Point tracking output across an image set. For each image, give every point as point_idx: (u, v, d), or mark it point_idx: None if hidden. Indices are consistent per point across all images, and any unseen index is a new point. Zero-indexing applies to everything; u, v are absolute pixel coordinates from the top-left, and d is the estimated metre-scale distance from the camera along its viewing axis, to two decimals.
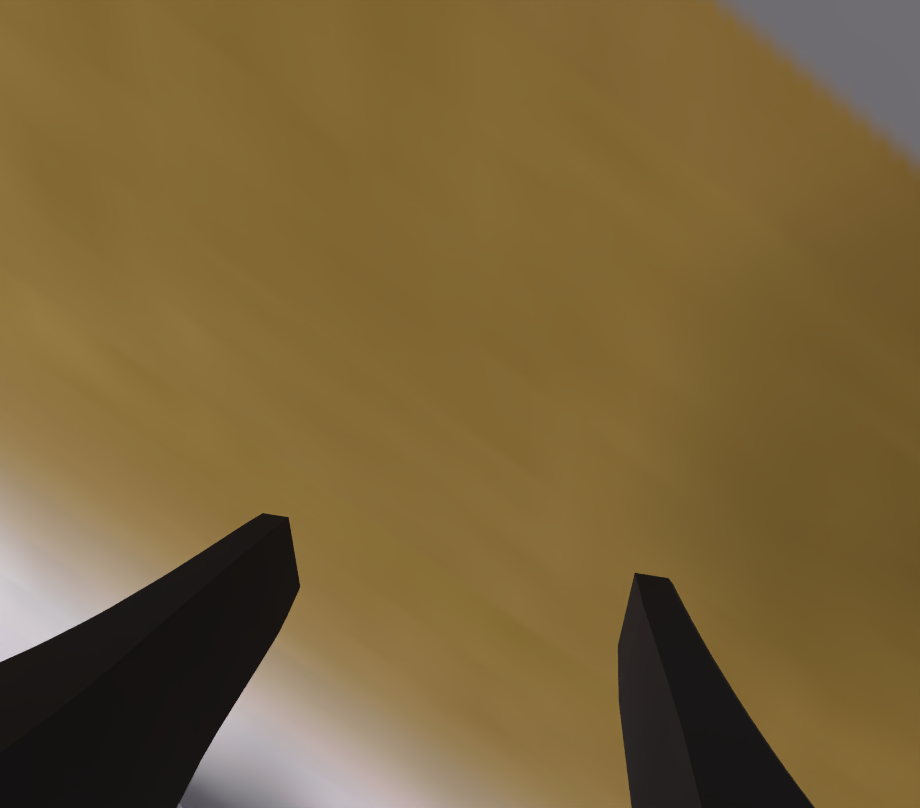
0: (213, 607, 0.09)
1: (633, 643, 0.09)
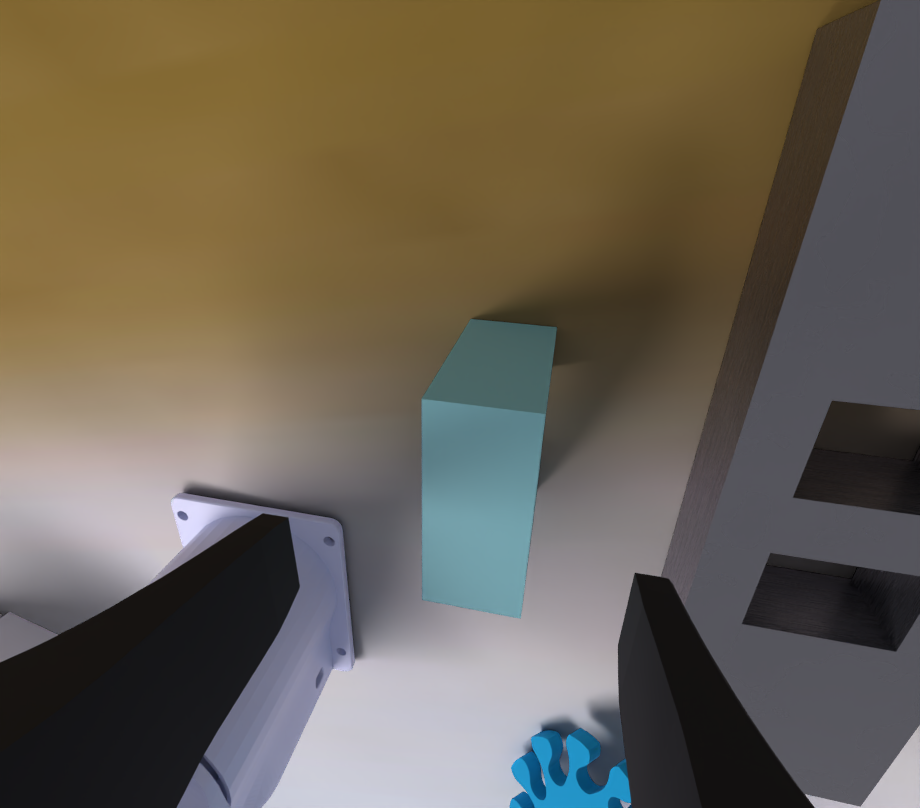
0: (213, 607, 0.09)
1: (633, 643, 0.09)
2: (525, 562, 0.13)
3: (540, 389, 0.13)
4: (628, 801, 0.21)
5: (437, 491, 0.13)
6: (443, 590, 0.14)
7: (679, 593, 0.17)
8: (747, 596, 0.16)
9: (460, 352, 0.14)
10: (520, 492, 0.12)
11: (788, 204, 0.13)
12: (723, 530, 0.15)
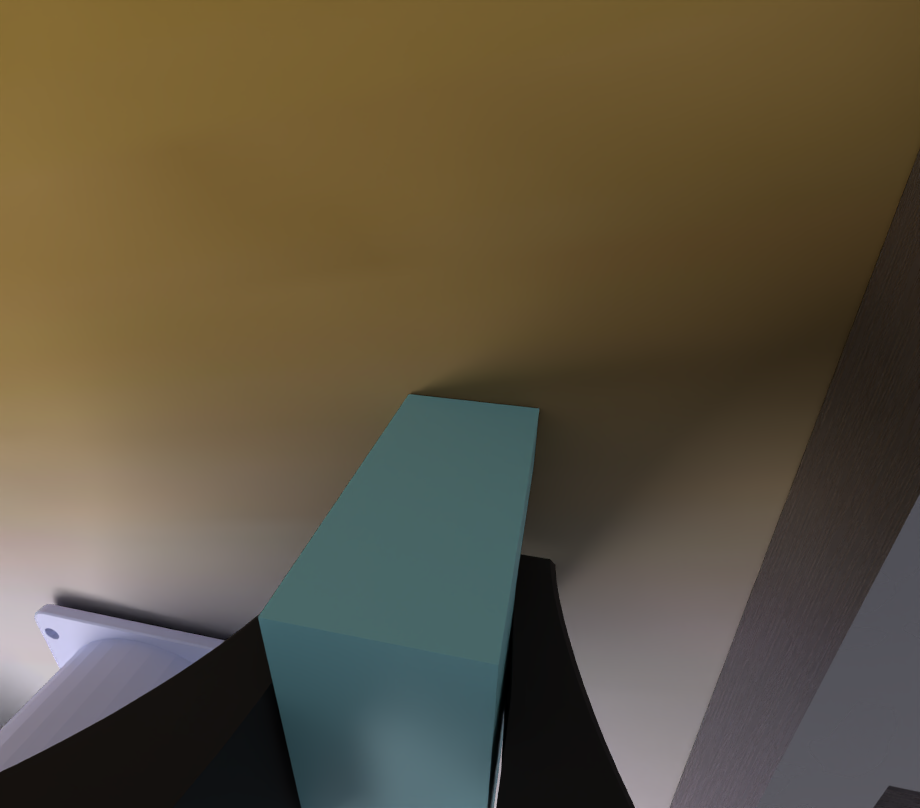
0: None
1: None
2: None
3: (497, 576, 0.07)
4: None
5: (315, 752, 0.07)
6: None
7: (730, 802, 0.12)
8: None
9: (372, 473, 0.09)
10: (460, 772, 0.07)
11: None
12: (811, 749, 0.09)
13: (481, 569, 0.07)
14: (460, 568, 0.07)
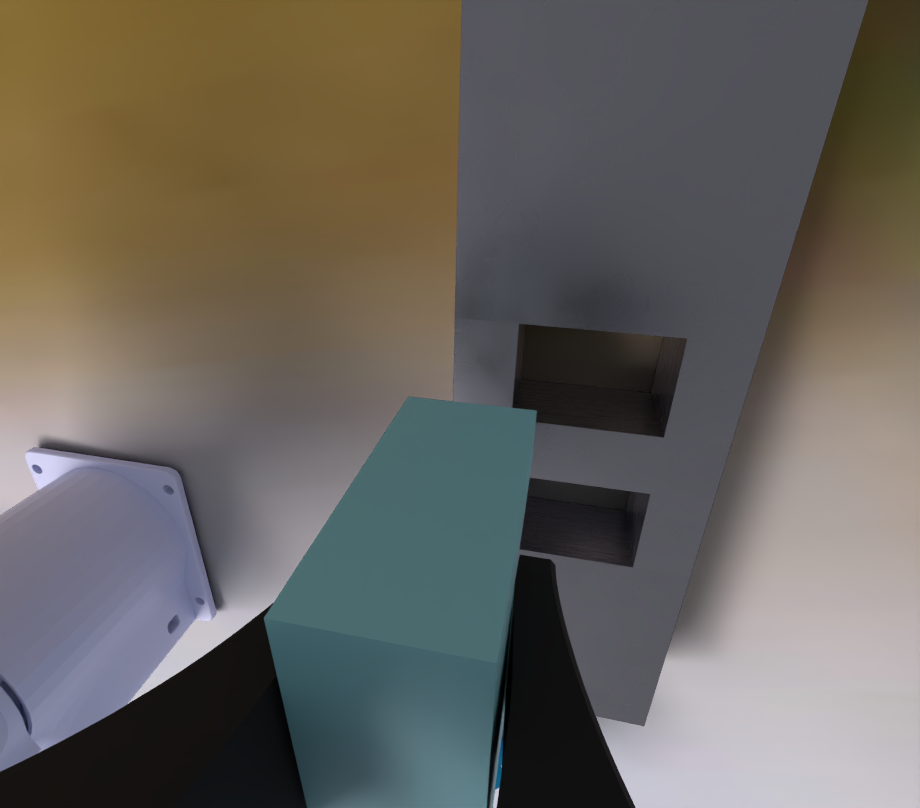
0: None
1: (511, 621, 0.10)
2: None
3: (495, 576, 0.07)
4: None
5: (319, 748, 0.07)
6: None
7: None
8: None
9: (373, 475, 0.09)
10: (461, 766, 0.07)
11: None
12: None
13: (480, 570, 0.07)
14: (460, 569, 0.07)
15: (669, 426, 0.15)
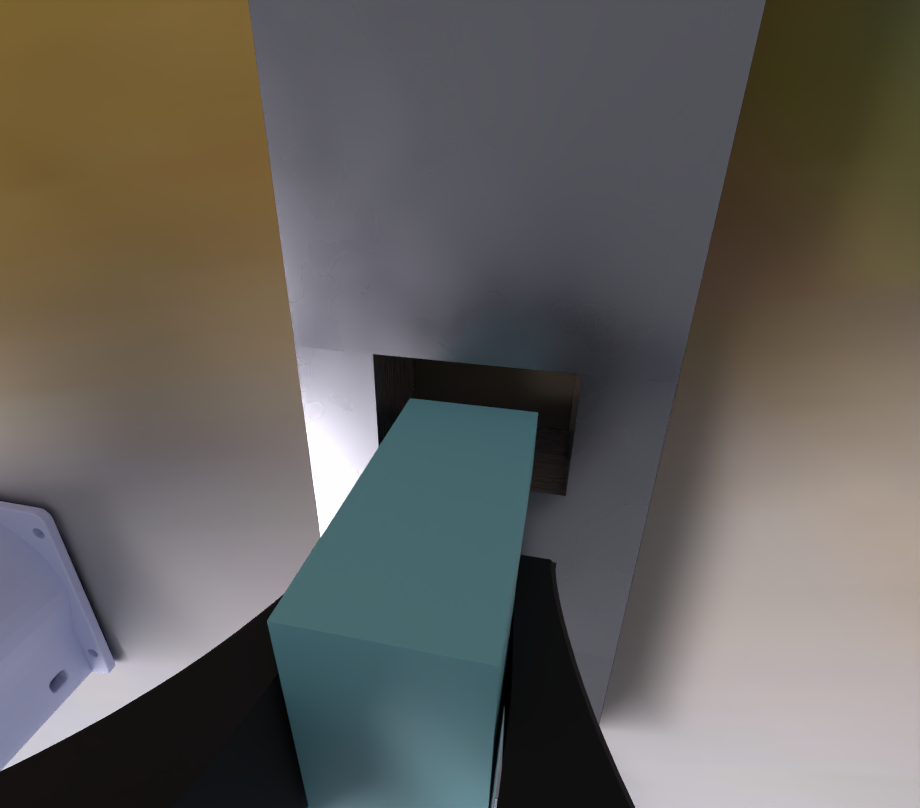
0: None
1: None
2: None
3: (497, 579, 0.07)
4: None
5: (321, 750, 0.07)
6: None
7: None
8: None
9: (375, 478, 0.09)
10: (463, 769, 0.07)
11: None
12: (330, 510, 0.13)
13: (482, 572, 0.07)
14: (462, 572, 0.07)
15: (571, 482, 0.12)
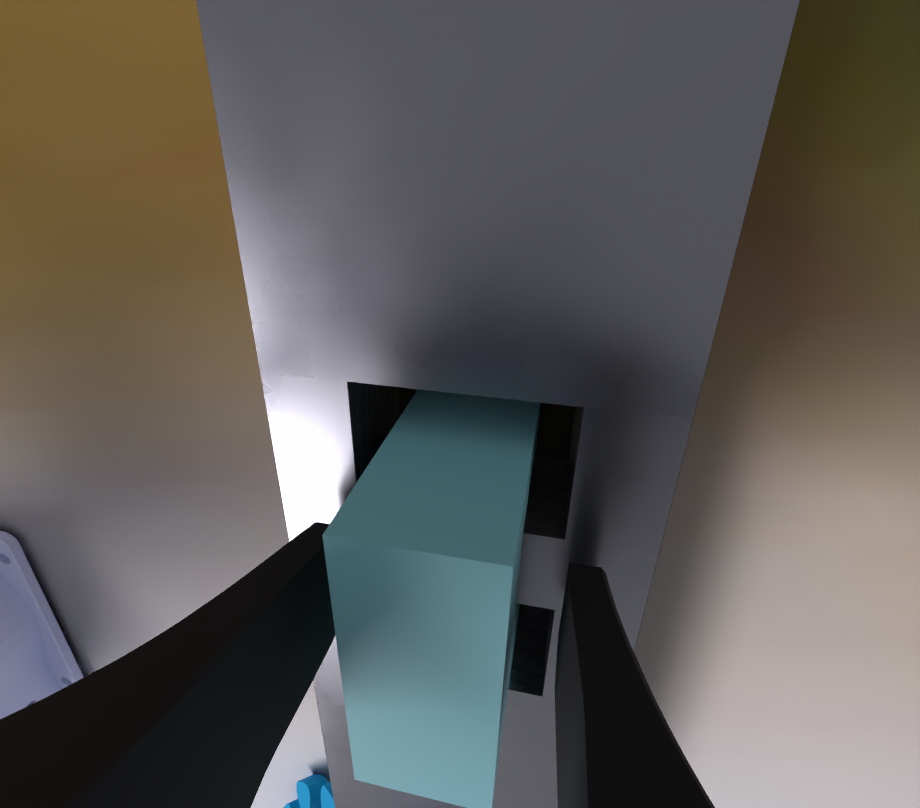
0: (278, 620, 0.09)
1: (563, 630, 0.09)
2: (494, 751, 0.09)
3: (510, 508, 0.08)
4: None
5: (360, 655, 0.09)
6: (382, 772, 0.10)
7: None
8: None
9: (402, 434, 0.10)
10: (481, 665, 0.08)
11: None
12: None
13: (497, 503, 0.08)
14: (480, 502, 0.08)
15: (571, 525, 0.10)
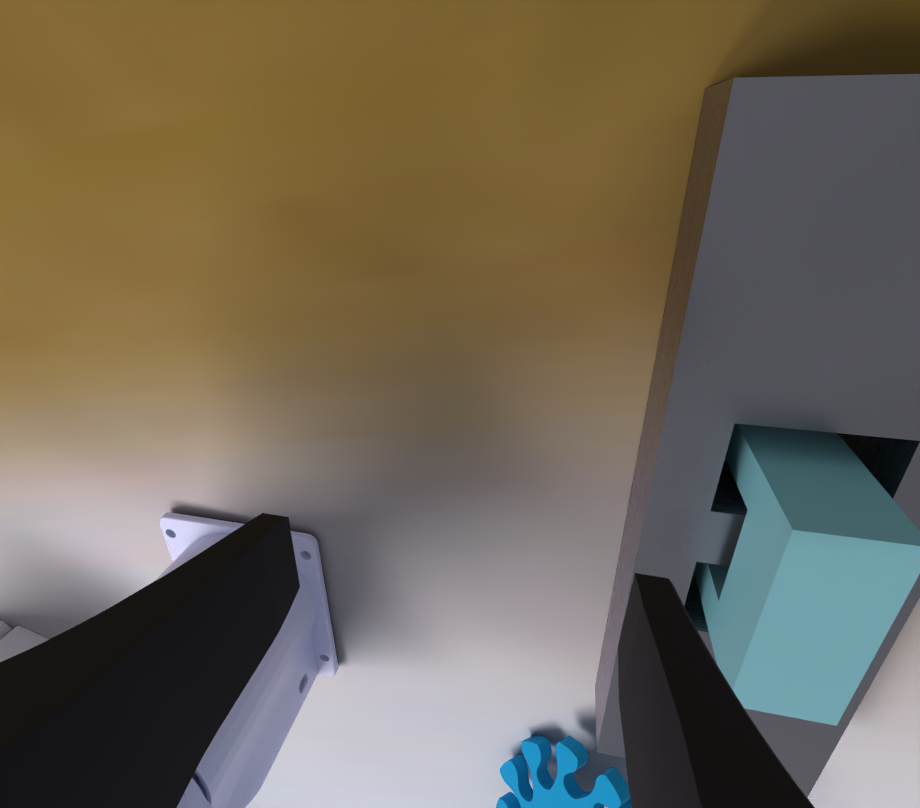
0: (213, 607, 0.09)
1: (633, 643, 0.09)
2: (861, 676, 0.13)
3: (894, 511, 0.12)
4: None
5: (781, 611, 0.13)
6: (755, 698, 0.14)
7: (622, 599, 0.19)
8: None
9: (765, 459, 0.14)
10: (878, 614, 0.12)
11: (686, 246, 0.14)
12: (652, 541, 0.16)
13: (883, 507, 0.13)
14: (871, 507, 0.13)
15: None
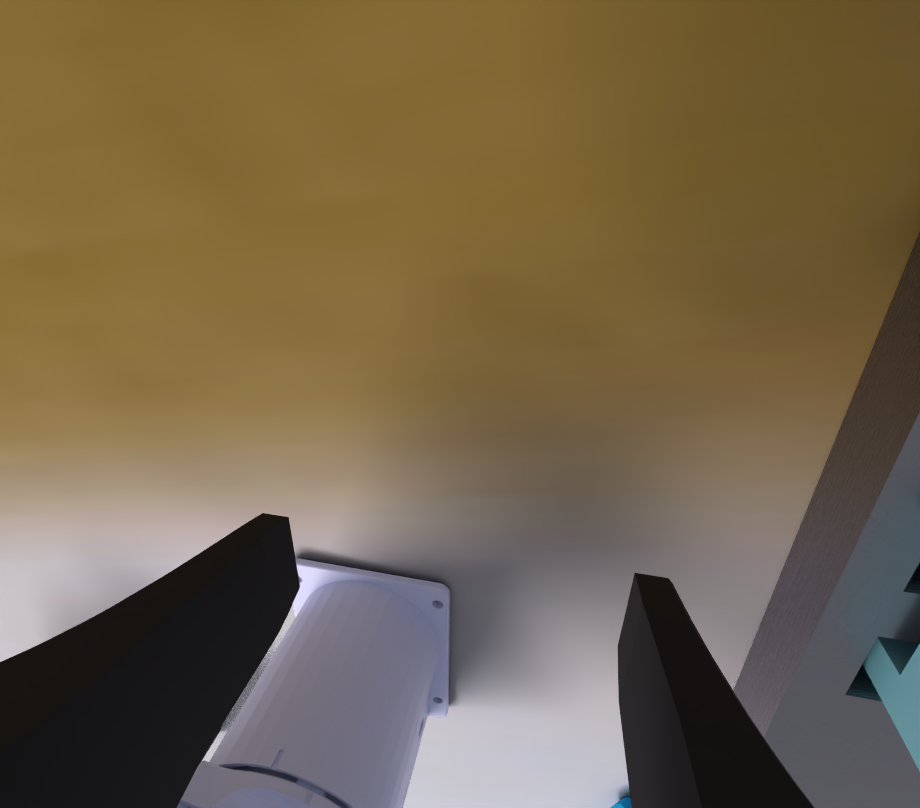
0: (213, 607, 0.09)
1: (633, 643, 0.09)
2: None
3: None
4: None
5: None
6: None
7: (783, 664, 0.19)
8: (852, 671, 0.18)
9: None
10: None
11: (909, 344, 0.14)
12: (835, 616, 0.17)
13: None
14: None
15: None
